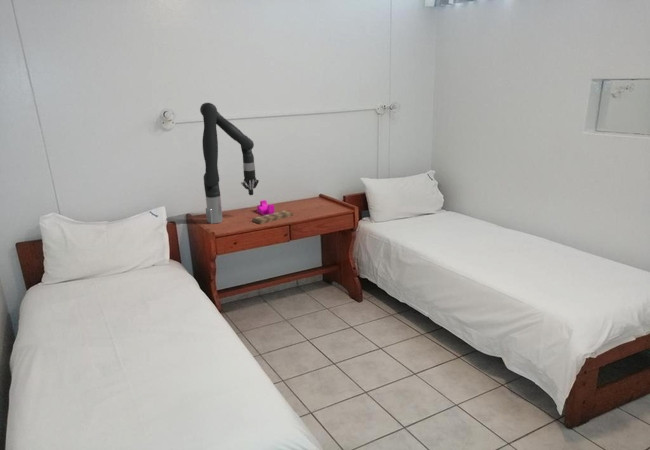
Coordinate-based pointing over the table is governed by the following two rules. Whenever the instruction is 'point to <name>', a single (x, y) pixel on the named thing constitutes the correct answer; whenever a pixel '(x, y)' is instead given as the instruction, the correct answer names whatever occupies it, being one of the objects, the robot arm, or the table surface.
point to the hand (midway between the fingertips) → (251, 195)
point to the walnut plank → (272, 217)
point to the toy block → (265, 208)
